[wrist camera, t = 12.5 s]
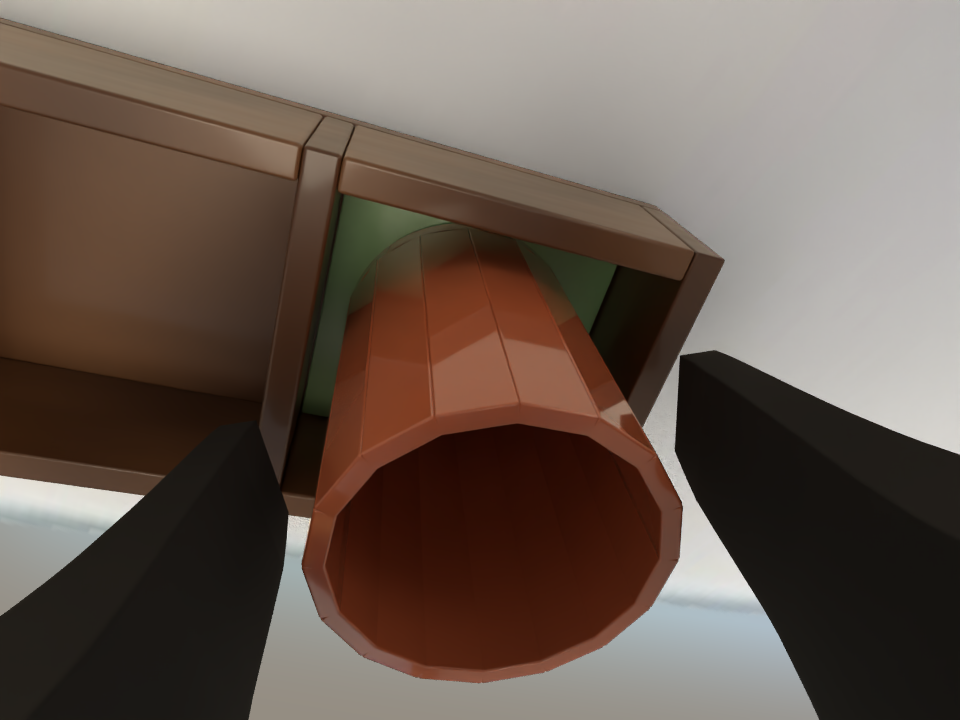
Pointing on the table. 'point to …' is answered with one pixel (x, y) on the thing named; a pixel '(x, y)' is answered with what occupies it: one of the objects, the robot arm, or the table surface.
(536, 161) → the table surface
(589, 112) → the table surface
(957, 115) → the table surface
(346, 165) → the wooden compartment box
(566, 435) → the tumbler
